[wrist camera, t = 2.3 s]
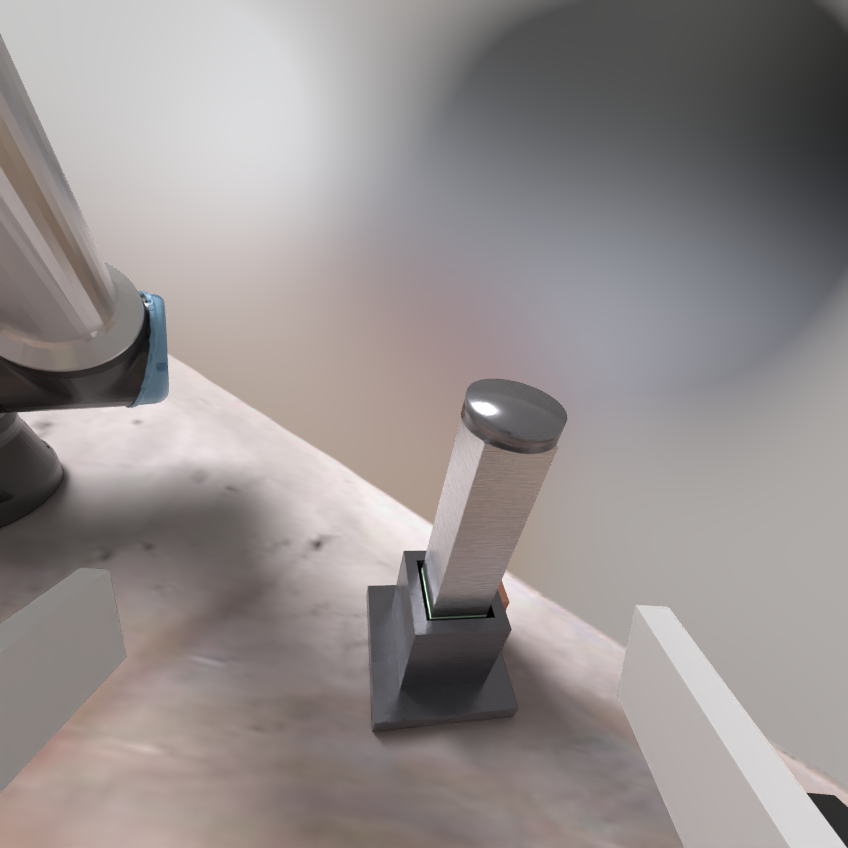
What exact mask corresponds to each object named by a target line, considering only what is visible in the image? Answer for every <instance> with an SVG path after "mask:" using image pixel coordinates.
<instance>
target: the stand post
mask: <svg viewBox="0 0 848 848" xmlns="http://www.w3.org/2000/svg"><path fill="white" fill-rule="evenodd" d="M566 421H567V414H566V411H565V409H564V408H563V407H562V405H561V404H560V403H559V402H558V401H556V400H555V399H554V398H552V397H551V396H550V395H548V394H546V393H544V392H543V391H541V390H539V389H536V388H534V387H532V386H529V385H526V384H523V383H519V382H515V381H510V380H504V379H484V380H479V381H476V382H474V383H472V384H471V385H470V386H469V387H468V389H467V392H466V396H465V400H464V403H463V407H462V411H461V421H460V425H459V429H458V433H457V437H456V440H455V445H454V449H453V452H452V456H451V460H450V463H449V467H448V471H447V475H446V479H445V483H444V487H443V490H442V494H441V498H440V502H439V506H438V510H437V514H436V517H435V521H434V525H433V529H432V533H431V537H430V540H429V544H428V548H427V552H426V556H425V560H424V564H423V567H422V568H421V572H420V576H419V578H420V584H421V590H422V596H423V602H424V608H425V614H426V620H427V621H439V620H459V619H480V618H486V617H487V612H488V610H489V608H490V605H491V603H492V601H493V598H494V596H495V594H496V591H497V589H498V587H499V584H500V582H501V580H502V577H503V575H504V573H505V570H506V568H507V566H508V563H509V561H510V559H511V556H512V554H513V552H514V549H515V547H516V545H517V542H518V540H519V538H520V535H521V533H522V530H523V528H524V526H525V524H526V521H527V519H528V517H529V514H530V512H531V510H532V507H533V505H534V503H535V500H536V498H537V496H538V494H539V491H540V489H541V487H542V484H543V482H544V480H545V477H546V475H547V473H548V470H549V467H550V466H551V463H552V461H553V459H554V456H555V454H556V452H557V449H558V447H557V445H556V444H557V442H558V440H559V438H560V435H561V433H562V431H563V428H564V426H565V424H566Z"/></svg>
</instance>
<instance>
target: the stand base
mask: <svg viewBox="0 0 848 848" xmlns="http://www.w3.org/2000/svg"><path fill="white" fill-rule="evenodd" d="M426 552H427V551H404V552H403V557H402V562H401V566H400V571H399V576H398V580H397V585H386V586H368V589H367V617H368V642H369V666H370V690H371V715H372V732H374V731H383V730H392V729H401V728H411V727H420V726H429V725H438V724H448V723H457V722H466V721H475V720H485V719H494V718H503V717H512V716H514V714H515V713H516V711H517V710H518V706H517V702H516V699H515V696H514V693H513V689H512V686H511V683H510V679H509V676H508V673H507V670H506V666H505V663H504V660H503V656H502V653H501V650H502V648H503V646H504V644H505V642H506V640H507V638H508V636H509V634H510V632H511V630H512V629H511V626H510V623H509V620H508V617H507V614H506V612H505V610H506V608H507V606H508V604H509V600H508V597H507V594H506V592H505V589H504V586H503V583H502V580H501V582H500V584H499V587H498V589H497V591H496V594H495V596H494V598H493V601H492V603H491V605H490V608H489V610H488V612H487V617H486V618H480V619H459V620H439V621H427V620H426V614H425V608H424V602H423V596H422V590H421V584H420V578H419V576H420V572H421V568H422V567H423V564H424V560H425V556H426Z"/></svg>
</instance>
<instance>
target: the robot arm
mask: <svg viewBox="0 0 848 848" xmlns="http://www.w3.org/2000/svg"><path fill="white" fill-rule="evenodd" d="M168 393H169V376H168V357H167V334H166V317H165V305H164V301H163V299H162V298H161V297H160V296H159V295H156V294H150V293H148V292H145V291H139V292H138V291H137V290H136V288H135V287H134V285H133V283H132V282H131V281H130V280H129V279H128V278H127V277H126V276H125V275H123V274H122V273H121V272H120V271H118V270H117V269H116V268H114V267H113V266H111V265H109V264H107V263H105V262H104V261H103V259H102V257H101V254H100V253H99V250H98V248H97V246H96V243H95V241H94V239H93V237H92V235H91V232H90V230H89V228H88V226H87V224H86V221H85V219H84V217H83V215H82V213H81V210H80V208H79V206H78V204H77V202H76V199H75V197H74V195H73V193H72V191H71V189H70V186H69V184H68V182H67V180H66V178H65V175H64V173H63V171H62V169H61V167H60V164H59V162H58V160H57V158H56V156H55V153H54V151H53V149H52V147H51V145H50V142H49V140H48V138H47V136H46V134H45V131H44V129H43V127H42V125H41V123H40V120H39V118H38V116H37V114H36V112H35V109H34V107H33V105H32V103H31V101H30V98H29V96H28V94H27V92H26V90H25V87H24V85H23V83H22V81H21V79H20V76H19V74H18V72H17V70H16V68H15V65H14V63H13V61H12V59H11V56H10V54H9V52H8V50H7V48H6V45H5V43H4V41H3V39H2V37H1V35H0V527H2V526H4V525H7V524H9V523H11V522H13V521H15V520H17V519H19V518H21V517H23V516H24V515H26V514H28V513H29V512H31V511H33V510H34V509H35V508H37V507H38V506H40V505H41V504H42V503H43V502H45V501H46V500H47V499H48V498H49V497H50V496H51V495H52V494H53V493H54V492H55V490H56V489H57V488H58V486H59V484H60V483H61V480H62V476H63V470H62V467H61V464H60V462H59V459H58V457H57V454H56V453H55V451H54V449H53V448H52V447H51V446H50V445H48V444H47V443H46V442H45V441H43V440H41V439H40V438H39V437H38V436H37V435H36V434H35V433H34V431H33V430H32V429H31V428H30V427H29V426H28V425H27V424H26V423H25V422H24V421H23V420H22V419H21V418H20V417H19V415H18V413H17V412H31V411H49V410H67V409H84V408H102V407H120V406H126V407H128V408H130V407H131V408H134V407H136V406H138V405H144V404H155V403H159V402H161V401H163V400H164V399H165V398H166V397H167V396H168ZM126 657H127V656H126V651H125V646H124V641H123V636H122V631H121V626H120V621H119V616H118V611H117V606H116V601H115V597H114V592H113V587H112V582H111V577H110V572H109V569H94V568H79V569H77V570H76V571H75V572H73V573H72V574H70V575H69V576H67V577H66V578H65V579H63V580H62V581H60V582H59V583H57V584H56V585H54V586H53V587H52V588H50V589H49V590H47V591H46V592H44V593H43V594H42V595H40V596H39V597H37V598H36V599H34V600H33V601H32V602H30V603H29V604H27V605H26V606H24V607H23V608H22V609H20V610H19V611H17V612H16V613H14V614H13V615H11V616H10V617H9V618H7V619H6V620H4V621H3V622H1V623H0V793H1V792H2V791H3V790H4V788H5V787H6V786H7V785H8V784H9V783H10V782H11V781H12V780H13V779H14V778H15V777H16V776H17V774H18V773H19V772H20V771H21V770H22V769H23V768H24V767H25V766H26V765H27V764H28V763H29V762H30V760H31V759H32V758H33V757H34V756H35V755H36V754H37V753H38V752H39V751H40V750H41V749H42V748H43V746H44V745H45V744H46V743H47V742H48V741H49V740H50V739H51V738H52V737H53V736H54V735H55V734H56V733H57V731H58V730H59V729H60V728H61V727H62V726H63V725H64V724H65V723H66V722H67V721H68V720H69V719H70V717H71V716H72V715H73V714H74V713H75V712H76V711H77V710H78V709H79V708H80V707H81V706H82V705H83V703H84V702H85V701H86V700H87V699H88V698H89V697H90V696H91V695H92V694H93V693H94V692H95V691H96V689H97V688H98V687H99V686H100V685H101V684H102V683H103V682H104V681H105V680H106V679H107V678H108V677H109V675H110V674H111V673H112V672H113V671H114V670H115V669H116V668H117V667H118V666H119V665H120V664H121V663H122V661H123V660H124V659H125V658H126ZM617 696H618V698H619V701H620V703H621V705H622V707H623V710H624V712H625V714H626V717H627V719H628V721H629V723H630V726H631V728H632V730H633V733H634V735H635V737H636V739H637V742H638V744H639V746H640V749H641V751H642V753H643V755H644V758H645V760H646V762H647V764H648V767H649V769H650V771H651V774H652V776H653V778H654V780H655V783H656V785H657V787H658V790H659V792H660V794H661V796H662V799H663V801H664V803H665V805H666V808H667V810H668V812H669V815H670V817H671V819H672V821H673V824H674V826H675V828H676V831H677V833H678V835H679V837H680V840H681V842H682V844H683V847H684V848H848V807H847V806H846V805H845V804H844V803H843V802H841V801H840V800H839V799H838V798H837V797H836V796H835V795H825V794H814V793H806V792H805V791H804V789H803V788H802V787H801V785H800V784H799V783H798V781H797V780H796V778H795V777H794V776H793V774H792V773H791V772H790V770H789V769H788V768H787V766H786V765H785V764H784V762H783V761H782V760H781V758H780V757H779V756H778V754H777V753H776V752H775V750H774V749H773V747H772V746H771V745H770V743H769V742H768V741H767V739H766V738H765V737H764V735H763V734H762V733H761V731H760V730H759V729H758V727H757V726H756V725H755V723H754V722H753V721H752V719H751V718H750V717H749V715H748V714H747V712H746V711H745V710H744V708H743V707H742V706H741V704H740V703H739V702H738V700H737V699H736V698H735V696H734V695H733V694H732V692H731V691H730V690H729V688H728V687H727V685H726V684H725V683H724V682H723V680H722V679H721V678H720V676H719V675H718V673H717V672H716V671H715V669H714V668H713V667H712V665H711V664H710V663H709V661H708V660H707V659H706V657H705V656H704V654H703V653H702V652H701V651H700V649H699V648H698V646H697V645H696V644H695V642H694V641H693V640H692V638H691V637H690V636H689V634H688V633H687V632H686V630H685V629H684V628H683V626H682V625H681V624H680V622H679V621H678V620H677V618H676V617H675V615H674V614H673V613H672V611H671V610H670V609H669V607H660V606H644V605H635V611H634V615H633V620H632V625H631V630H630V634H629V640H628V644H627V649H626V654H625V659H624V663H623V668H622V673H621V678H620V683H619V687H618V692H617Z"/></svg>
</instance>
